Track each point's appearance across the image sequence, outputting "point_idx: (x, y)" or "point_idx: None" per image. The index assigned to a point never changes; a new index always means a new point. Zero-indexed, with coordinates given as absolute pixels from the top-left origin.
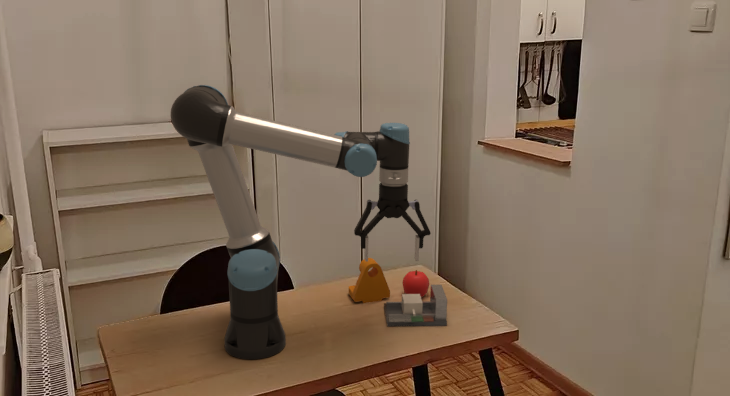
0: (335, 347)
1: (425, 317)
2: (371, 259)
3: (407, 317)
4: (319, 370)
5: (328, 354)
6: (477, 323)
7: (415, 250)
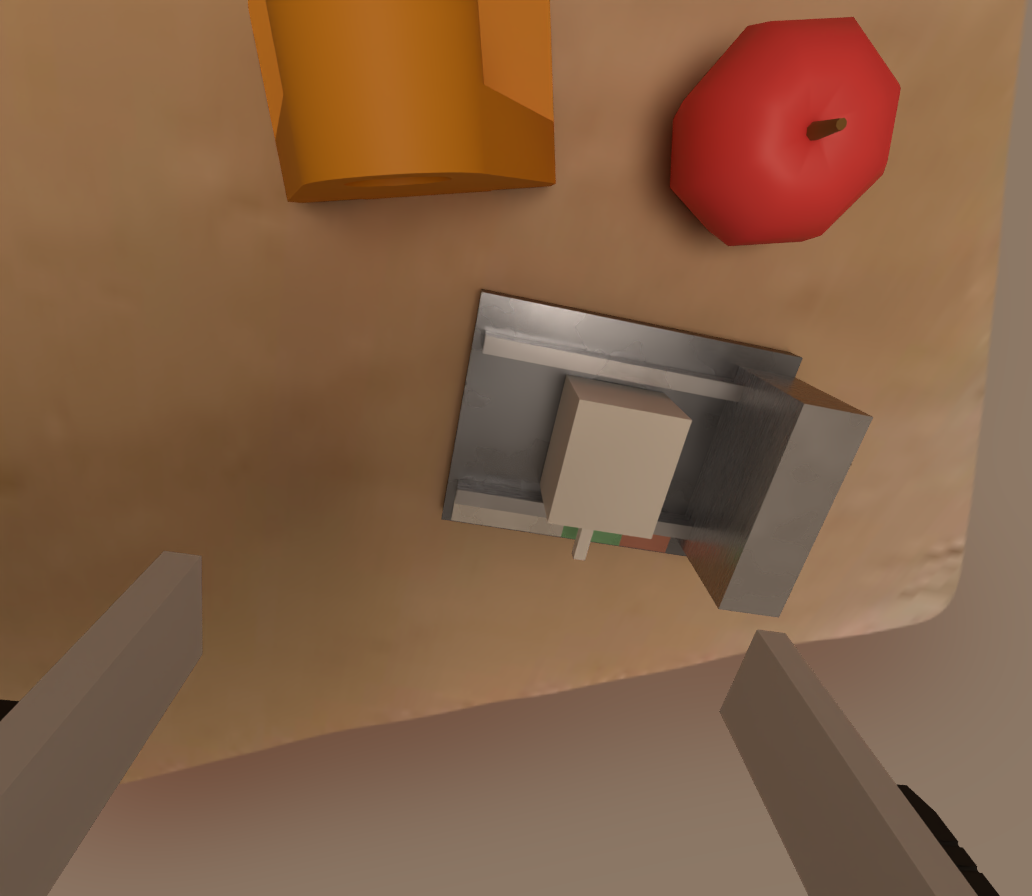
0: None
1: None
2: (389, 4)
3: None
4: None
5: None
6: (851, 552)
7: (790, 762)
